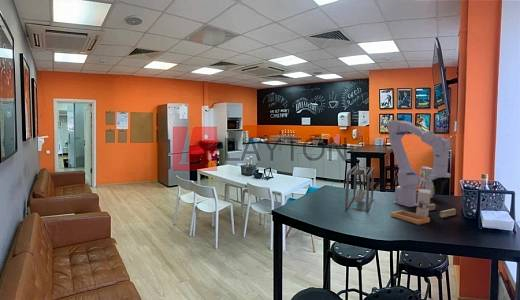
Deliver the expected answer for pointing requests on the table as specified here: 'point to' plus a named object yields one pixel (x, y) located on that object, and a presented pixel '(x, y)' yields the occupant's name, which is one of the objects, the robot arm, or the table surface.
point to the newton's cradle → (361, 192)
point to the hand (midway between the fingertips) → (438, 193)
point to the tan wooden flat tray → (410, 217)
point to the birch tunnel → (443, 213)
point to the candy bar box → (426, 179)
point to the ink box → (423, 202)
